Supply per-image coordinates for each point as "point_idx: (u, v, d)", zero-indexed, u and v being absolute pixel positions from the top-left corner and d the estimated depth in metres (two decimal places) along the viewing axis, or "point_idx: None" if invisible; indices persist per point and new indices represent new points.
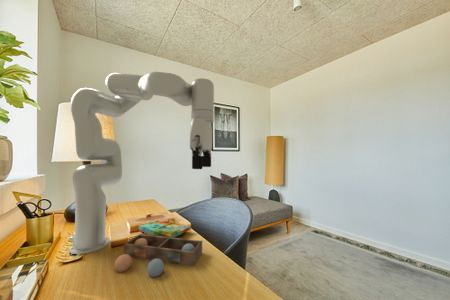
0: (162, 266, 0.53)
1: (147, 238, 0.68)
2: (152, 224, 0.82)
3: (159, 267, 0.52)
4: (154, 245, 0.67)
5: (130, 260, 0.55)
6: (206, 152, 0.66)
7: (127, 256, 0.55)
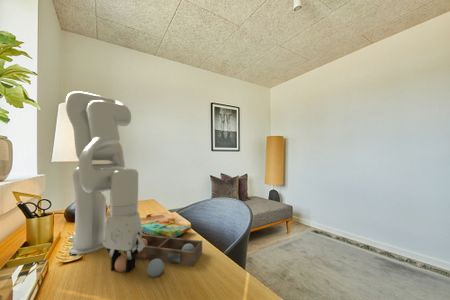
0: (162, 266, 0.53)
1: (147, 238, 0.68)
2: (152, 224, 0.82)
3: (159, 267, 0.52)
4: (154, 245, 0.67)
5: None
6: None
7: (127, 256, 0.55)
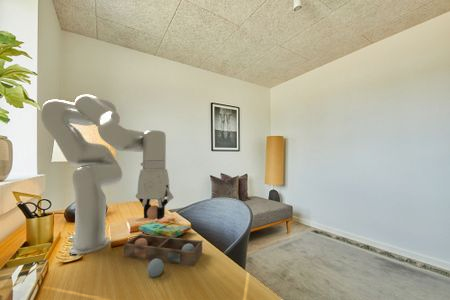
0: (162, 266, 0.53)
1: (147, 238, 0.68)
2: (152, 224, 0.82)
3: (159, 267, 0.52)
4: (154, 245, 0.67)
5: None
6: None
7: (157, 206, 0.64)
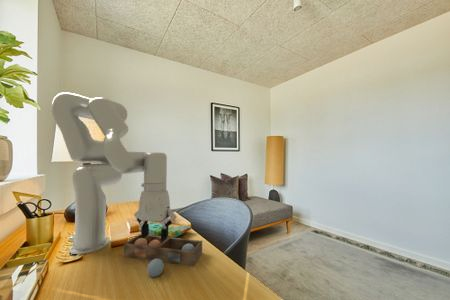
0: (162, 266, 0.53)
1: (147, 238, 0.68)
2: (152, 224, 0.82)
3: (159, 267, 0.52)
4: None
5: None
6: None
7: (157, 241, 0.64)
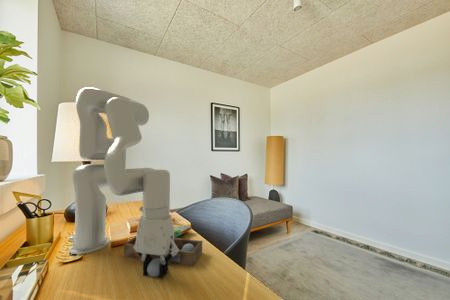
0: None
1: None
2: None
3: (159, 267, 0.52)
4: None
5: None
6: None
7: None
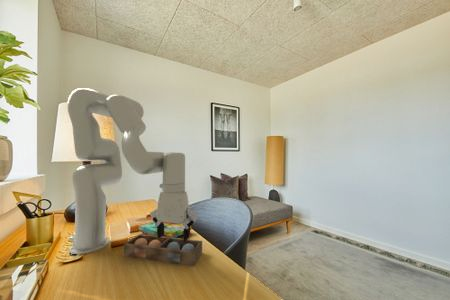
0: (179, 248, 0.62)
1: (147, 238, 0.68)
2: (153, 224, 0.81)
3: (176, 248, 0.61)
4: None
5: None
6: None
7: (158, 241, 0.64)
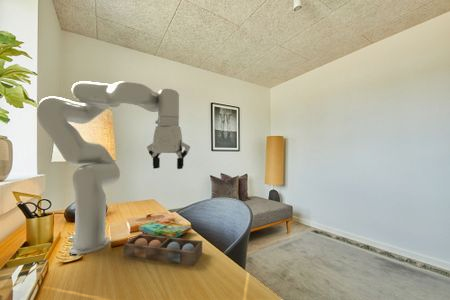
0: (179, 248, 0.62)
1: (147, 238, 0.68)
2: (153, 224, 0.81)
3: (177, 249, 0.61)
4: None
5: None
6: None
7: (158, 241, 0.64)
